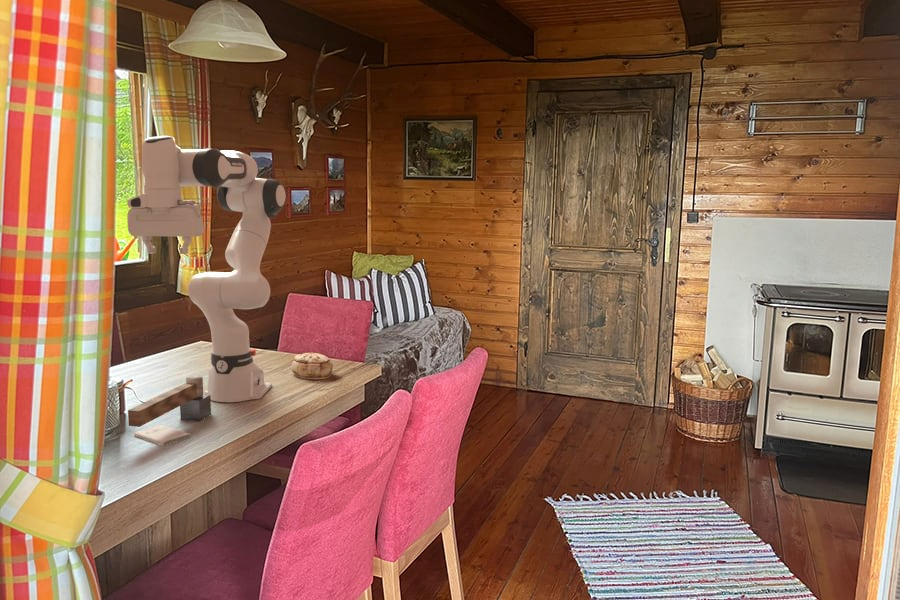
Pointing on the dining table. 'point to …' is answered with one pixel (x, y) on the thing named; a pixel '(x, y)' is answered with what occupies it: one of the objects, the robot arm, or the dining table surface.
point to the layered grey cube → (196, 408)
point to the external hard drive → (161, 435)
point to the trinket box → (311, 366)
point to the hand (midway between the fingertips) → (168, 253)
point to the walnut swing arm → (166, 402)
